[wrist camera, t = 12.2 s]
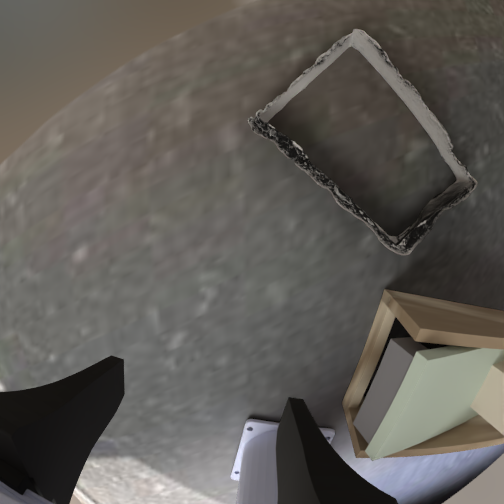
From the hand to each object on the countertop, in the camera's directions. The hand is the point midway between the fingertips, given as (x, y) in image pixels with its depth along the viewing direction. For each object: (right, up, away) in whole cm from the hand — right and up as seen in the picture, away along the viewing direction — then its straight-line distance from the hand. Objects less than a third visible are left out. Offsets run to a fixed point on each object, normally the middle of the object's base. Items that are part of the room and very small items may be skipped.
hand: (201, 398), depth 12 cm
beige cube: (+22, -5, +7) cm, 23 cm away
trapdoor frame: (+19, -3, +10) cm, 22 cm away
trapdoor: (+17, -3, +8) cm, 19 cm away
